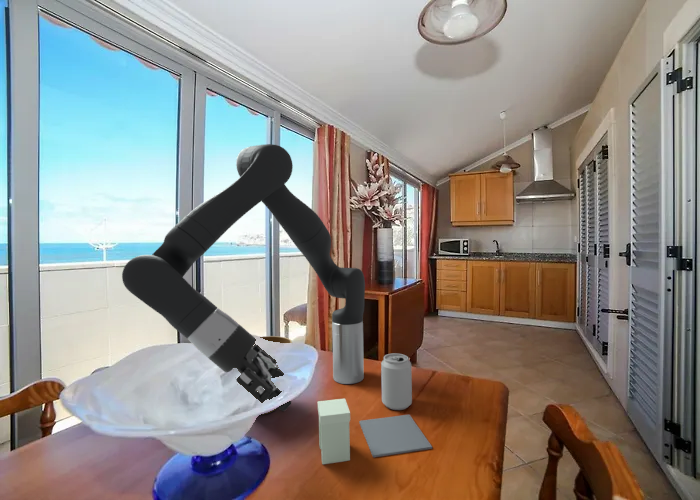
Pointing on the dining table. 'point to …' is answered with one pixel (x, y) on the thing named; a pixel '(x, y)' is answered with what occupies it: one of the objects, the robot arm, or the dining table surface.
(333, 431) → the pale green upright block
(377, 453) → the mat
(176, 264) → the robot arm
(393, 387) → the can
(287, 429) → the dining table surface
